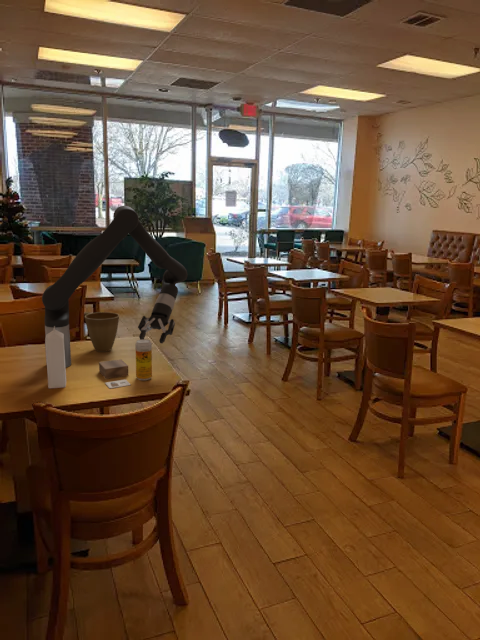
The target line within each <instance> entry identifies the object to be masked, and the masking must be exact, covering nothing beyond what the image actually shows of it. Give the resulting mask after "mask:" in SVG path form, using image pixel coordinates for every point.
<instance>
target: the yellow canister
mask: <svg viewBox="0 0 480 640" xmlns="http://www.w3.org/2000/svg"><path fill="white" fill-rule="evenodd" d="M151 341H152V340H150V339H146V338H144V339H141V340H140V339H138V340H136V342H135V377H136V378H137V380H139V381H149V380H150V379H152V377H153V353H152V352H153V351H152V349H153V346H152V344H153V343H152V342H151Z"/></svg>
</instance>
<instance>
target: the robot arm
mask: <svg viewBox="0 0 480 640" xmlns="http://www.w3.org/2000/svg"><path fill="white" fill-rule="evenodd" d="M128 235H129V236H130V237H132V239H134V241H135V242H136V243H137V244H138V245H139V247H140V248H141V249H142V251H143V252H144V253H145V255H146V256H147V257H148V258H149V259H150V260H151V262H152V263H153V264H154V265H155V266H156V267H157V268H158V269H161V270H165V271H164V273H163V275H162V281H161V282H162V283H161V289H160V291H159V294H158V297H157V298H156V300H155V303H154V305H153V307H152V310H151V314H150V316H149V317H147V316H145V315H143V316H142V317H141V319H140V322H139V324H138V326H137V329H138V330H139V331H140V334H139V336H138V338H139V340H141V339H146V338H145V337H146V335H147V333H148V332H149V331H151V330H159V331H160V330H162V333H161V335H160V337H159V340H158V341H159V343H160V344H163V343H165V341H166V337H168V335H169V336H172V335H173V332H174V330H175V326H176V321H175V320H174V319H170V318H171V315H172V312H173V310H174V307H175V302H176V299H177V296H178V294H179V288H178V286H177V285H176V284H179V283H182V282H185V281H186V280H187V279H188V270H187V269H186V267H185V266H184V265H183V264H182V263H181V262H179V261H178V260H176V259H175V258H173V257H172V256H170V254H169V253H168V252H167V251H166V249H165V248H164V247H163V246H162V245H161V244H160V243H159V242H158V241H157V240H156V239H155V238H154V237H153V235H151V234H150V233H149V232H148V231H147V229H146V227H144V225H143V223H142V222H141V221H140V219H139V214H138V212H136V211H135V209H134V208H132V207H130V206H128V205H120V206H118V207H117V208H116V209H115V210H114V212H113V219H112V221H111V222H110V223H109V224H108V225H107V226H106V228H105V229H104V230H103V231H102V232H101V233H100V234H98V235H97V236H96V237H94V238H93V239H91V240H90V241H89V242H88V243H87V244H86V245H85V246H84V247H83V248H82V249H81V250H80V251H79V252H78V253H77V254H76V256H75V257H74V258H73V259H72V260H71V262H70V264H69V266H68V267H67V268H66V270H65V272H64V273H63V274H62V275H61V276H60V277H59V278H58V279H57V280H56V281H55V282H54V283H53V284H51V285H48V287H46V288H45V290H44V291H43V293H42V296H41V301H42V304H43V306H44V332H45V336H46V335H47V334H48V333H50V332H51V331H53V329H54V326H55V330H57V331H59V332H61V333H63V334H64V350H65V368H67V367H70V366H71V365H72V354H71V353H72V352H71V351H72V350H71V336H70V334H71V333H70V303H69V302H70V301H69V300H70V299H71V296H72V295H73V294H74V292H75V291H76V290H77V289H78V288H79V287H80V286H81V285H82V284H83V283H85V281H86V280H88V279H89V278H90V277H91V276H92V275H93V274H94V273H95V272H96V271H97V270H98V269H99V268H100V267H101V265H102V264H103V263H104V262H105V261H106V260H107V259H108V258H109V256H110V255H111V254H112V252H113V251H114V250H115V249H116V248H117V246H118V245H119V244H120V242H122V241H123V240H124V239H125V238H126V237H127V236H128ZM167 325H168V329H167V328H166V326H167ZM44 347H45V348H44V349H45V351H46V343H45V342H44ZM45 361H46V363H45V364H46V365H47V358H46V357H45Z"/></svg>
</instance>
